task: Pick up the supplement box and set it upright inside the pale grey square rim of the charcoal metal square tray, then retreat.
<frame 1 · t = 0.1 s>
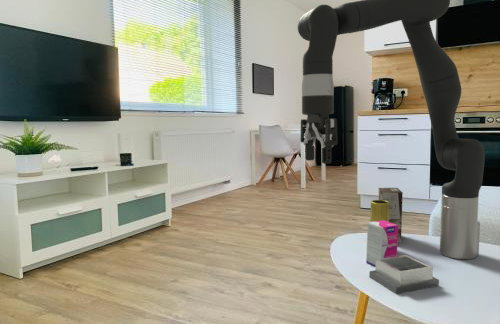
hand: (317, 161, 95), 29 cm above the table, fingers open, 8 cm apart
square tray: (402, 281, 94), on the table
coffee box: (389, 238, 128), on the table
supplement box: (381, 265, 105), on the table
vase: (379, 248, 119), on the table
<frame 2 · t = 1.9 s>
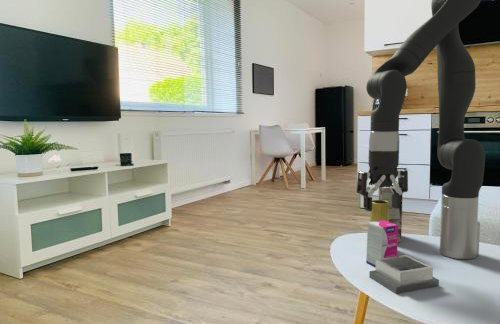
hand: (381, 209, 104), 15 cm above the table, fingers open, 8 cm apart
nothing on the table moved.
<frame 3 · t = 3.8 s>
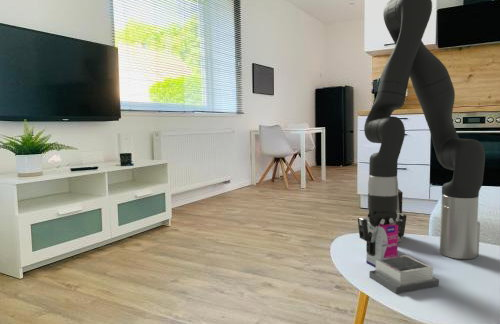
hand: (381, 253, 105), 3 cm above the table, fingers closed on supplement box, 6 cm apart
supplement box: (381, 265, 105), on the table, touching gripper
everything else where it was.
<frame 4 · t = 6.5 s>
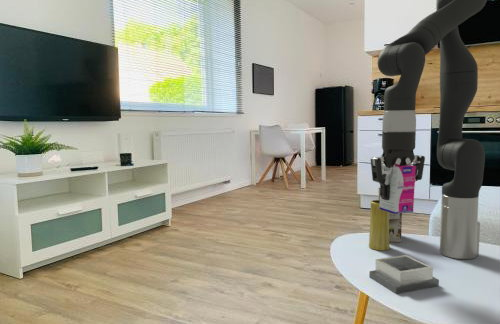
hand: (396, 198, 95), 20 cm above the table, fingers closed on supplement box, 6 cm apart
supplement box: (396, 211, 95), point 16 cm above the table, touching gripper
everything else where it was.
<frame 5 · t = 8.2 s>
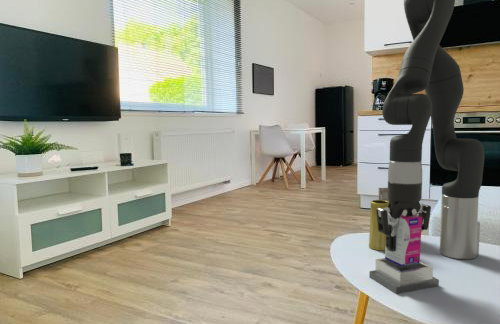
hand: (402, 248, 93), 8 cm above the table, fingers closed on supplement box, 6 cm apart
supplement box: (402, 262, 94), point 5 cm above the table, touching gripper
everything else where it was.
when the fingers open (7 cm above the table, at t = 9.4 s): supplement box drops 2 cm, resting on square tray.
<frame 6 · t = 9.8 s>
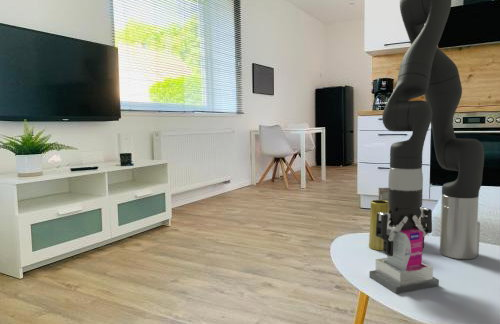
hand: (403, 252, 93), 7 cm above the table, fingers open, 8 cm apart
supplement box: (403, 275, 94), point 1 cm above the table, touching square tray
everything else where it was.
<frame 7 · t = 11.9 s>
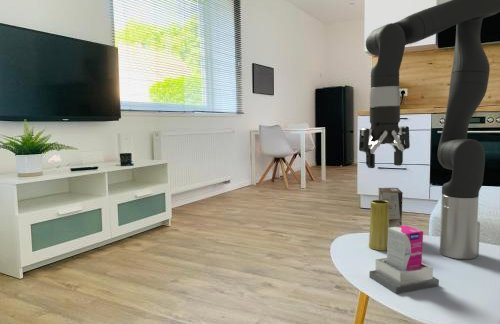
hand: (384, 166, 103), 27 cm above the table, fingers open, 8 cm apart
nothing on the table moved.
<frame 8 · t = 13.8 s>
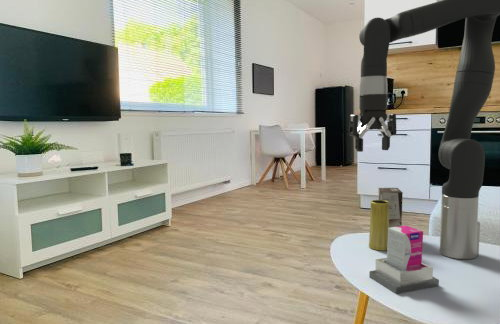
hand: (372, 150, 111), 30 cm above the table, fingers open, 8 cm apart
nothing on the table moved.
at the end: supplement box 0.3 cm off-centre on the square tray, point 1.3 cm above the square tray's base; supplement box tilted 0°; the gripper is holding nothing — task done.
